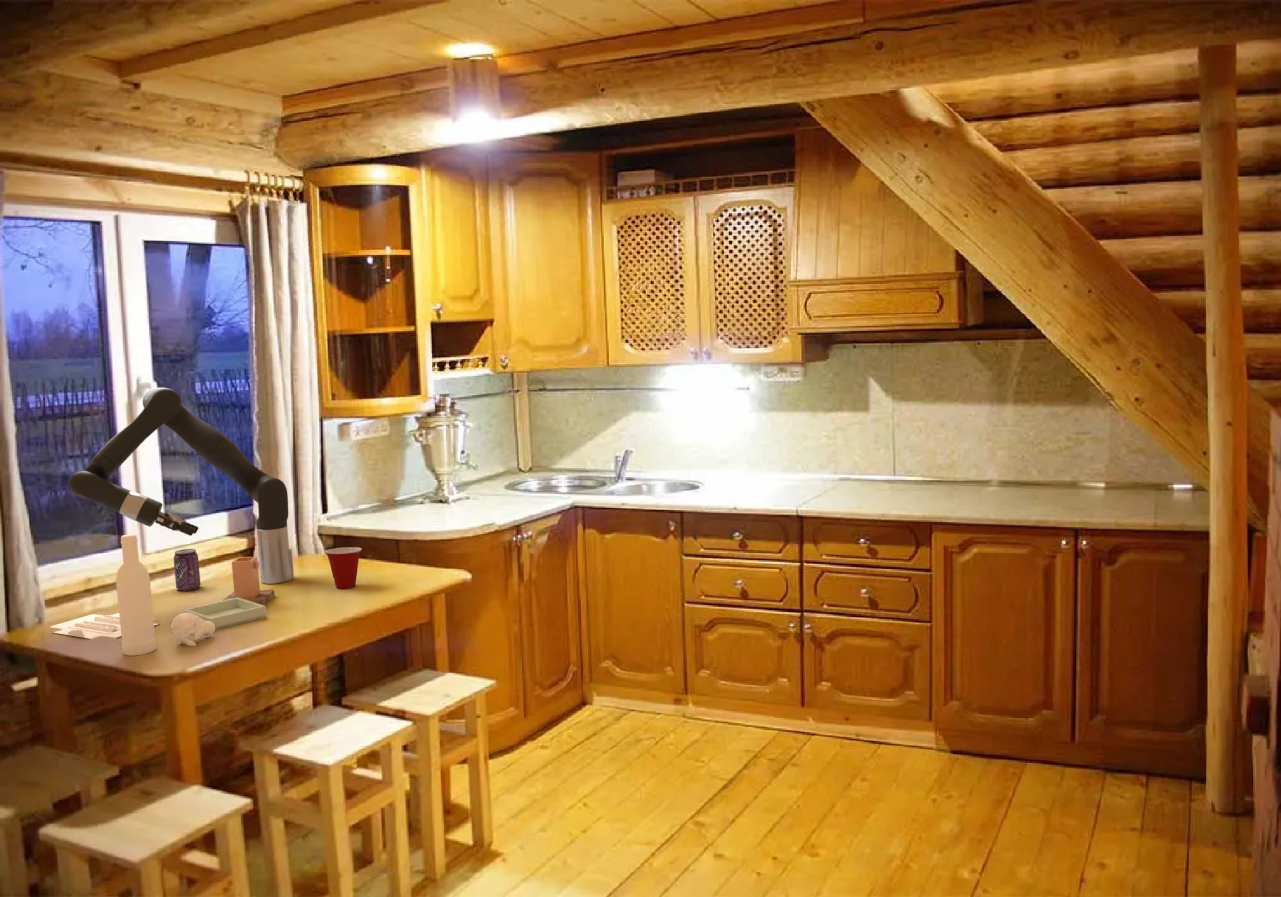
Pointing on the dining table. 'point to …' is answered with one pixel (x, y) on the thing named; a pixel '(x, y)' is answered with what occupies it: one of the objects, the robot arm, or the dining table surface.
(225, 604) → the tray
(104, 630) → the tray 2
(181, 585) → the beverage can
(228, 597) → the stand
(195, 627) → the animal figurine
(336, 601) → the dining table surface
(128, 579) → the bottle
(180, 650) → the dining table surface
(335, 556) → the plastic cup
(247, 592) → the sleeve
